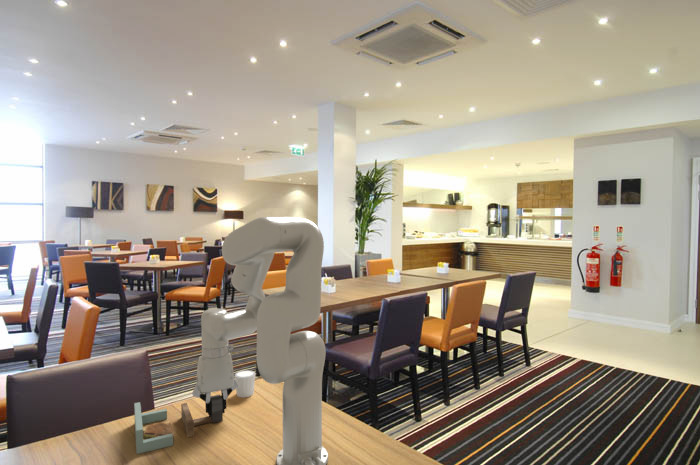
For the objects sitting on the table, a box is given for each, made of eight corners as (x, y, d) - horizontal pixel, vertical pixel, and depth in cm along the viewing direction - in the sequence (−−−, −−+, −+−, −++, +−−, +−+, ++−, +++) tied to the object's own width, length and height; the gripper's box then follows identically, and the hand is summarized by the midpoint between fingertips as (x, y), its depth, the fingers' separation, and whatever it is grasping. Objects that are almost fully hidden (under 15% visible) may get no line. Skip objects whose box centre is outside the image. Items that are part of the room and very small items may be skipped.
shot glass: (230, 396, 138) (230, 376, 138) (241, 388, 144) (241, 369, 144) (248, 399, 136) (248, 378, 136) (259, 391, 142) (259, 371, 142)
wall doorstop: (226, 427, 117) (226, 405, 117) (188, 437, 112) (187, 413, 112) (216, 409, 128) (216, 388, 128) (181, 416, 123) (181, 395, 123)
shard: (174, 443, 110) (174, 437, 110) (142, 451, 106) (142, 444, 106) (171, 425, 119) (171, 419, 119) (142, 431, 116) (141, 425, 116)
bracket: (173, 445, 108) (172, 422, 108) (136, 454, 104) (136, 430, 104) (166, 416, 124) (166, 397, 123) (134, 423, 119) (134, 403, 119)
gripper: (239, 344, 129) (240, 402, 129) (183, 352, 120) (184, 414, 121) (246, 350, 122) (246, 411, 122) (187, 359, 114) (188, 425, 114)
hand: (216, 412), depth 122 cm, fingers closed on wall doorstop, 3 cm apart
